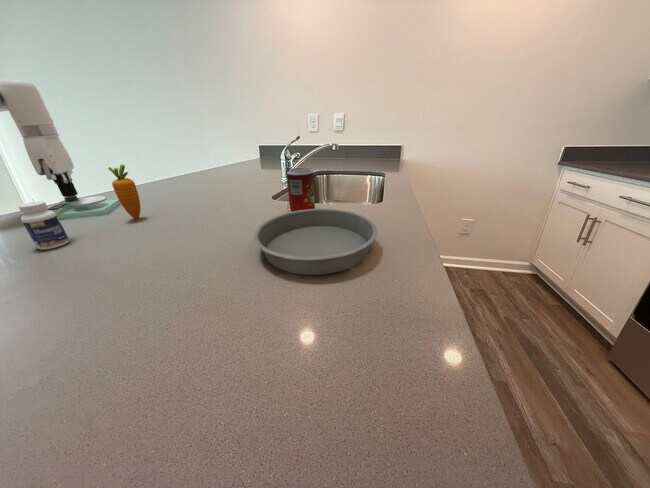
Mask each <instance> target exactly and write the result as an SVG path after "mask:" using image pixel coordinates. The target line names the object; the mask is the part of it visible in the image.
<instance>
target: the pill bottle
mask: <svg viewBox="0 0 650 488" xmlns="http://www.w3.org/2000/svg"><path fill="white" fill-rule="evenodd" d="M18 208H19V211H20V212H21V213H22V214H23V215H21V217H20V221H21V223H22V225H23V226H24V228H25V230H26V231H27V233H28V235H29V237H30V238H31V240H32V242H33V243H34V245H35V247H36V248H37V249H38V250H41V251H44V250H50V249H51V250H52V249H56V248H59V247H62V246H65V245H66V244H68V243H69V242H70V238H69V236H68V234H67V232H66V230H65V229H64V227H63V225H62V223H61V221H60V219H58V217H57V215H56V213H55V210H47V209H48V208H49V207H48V205H47V203H46V201H44V200H43V201H42V200H39V201H30V202H26V203H22V204H19V205H18Z"/></svg>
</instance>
